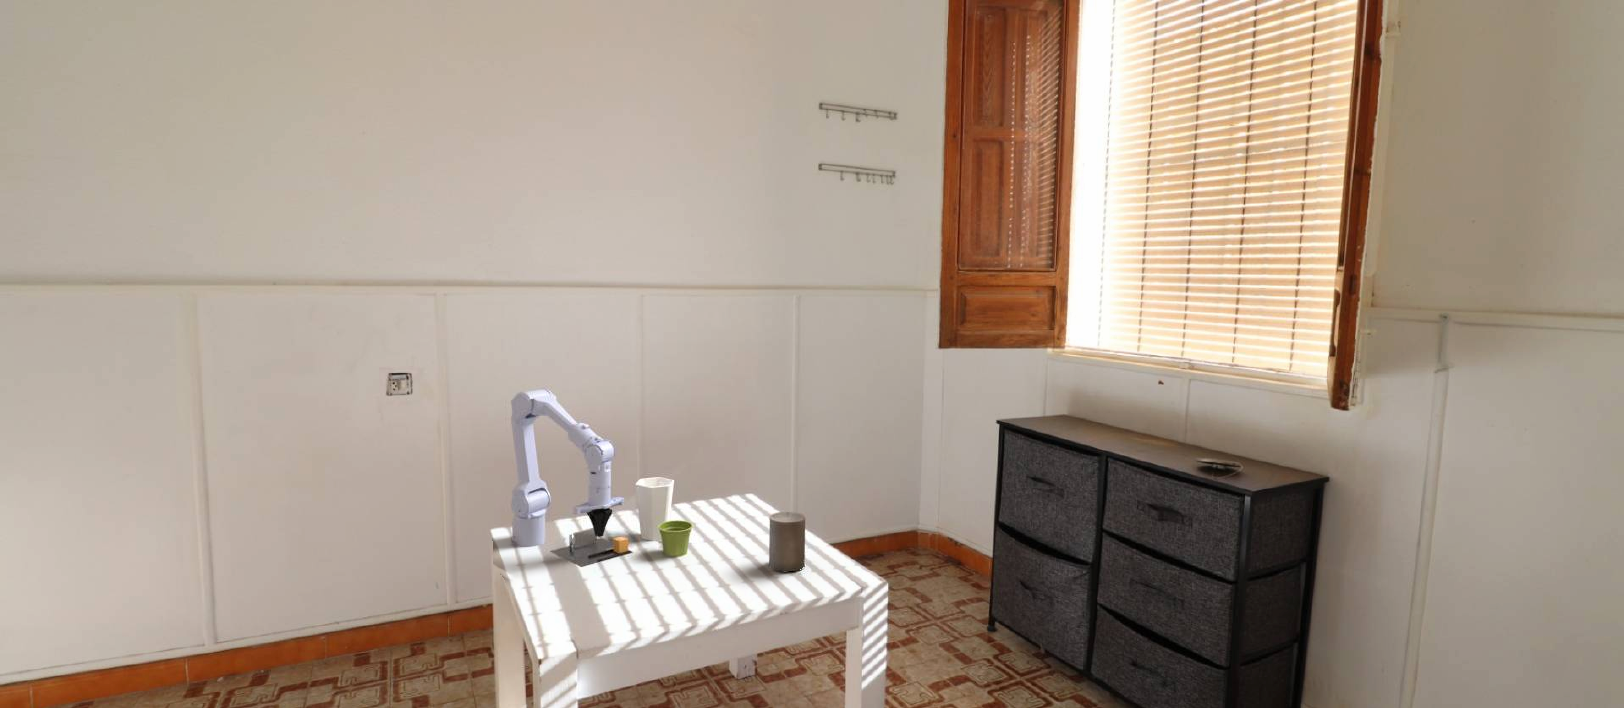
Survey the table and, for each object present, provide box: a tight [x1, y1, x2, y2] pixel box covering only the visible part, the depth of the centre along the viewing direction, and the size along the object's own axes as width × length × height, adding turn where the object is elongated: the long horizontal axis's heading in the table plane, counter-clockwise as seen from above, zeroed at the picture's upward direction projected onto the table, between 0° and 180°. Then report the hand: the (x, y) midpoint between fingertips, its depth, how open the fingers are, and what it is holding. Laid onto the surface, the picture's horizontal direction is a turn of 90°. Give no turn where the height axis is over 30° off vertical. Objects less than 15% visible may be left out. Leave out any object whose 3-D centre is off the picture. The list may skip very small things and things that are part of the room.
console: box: [549, 533, 634, 568], centre depth 216 cm, size 16×16×5 cm
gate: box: [572, 527, 598, 548], centre depth 221 cm, size 7×1×4 cm, turn 138°
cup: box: [634, 476, 675, 543], centre depth 229 cm, size 11×10×17 cm
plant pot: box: [658, 519, 694, 558], centre depth 217 cm, size 9×9×9 cm
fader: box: [613, 536, 629, 553], centre depth 216 cm, size 3×3×4 cm
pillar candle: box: [768, 511, 806, 572], centre depth 212 cm, size 10×10×15 cm
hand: (599, 535), depth 213 cm, fingers closed
